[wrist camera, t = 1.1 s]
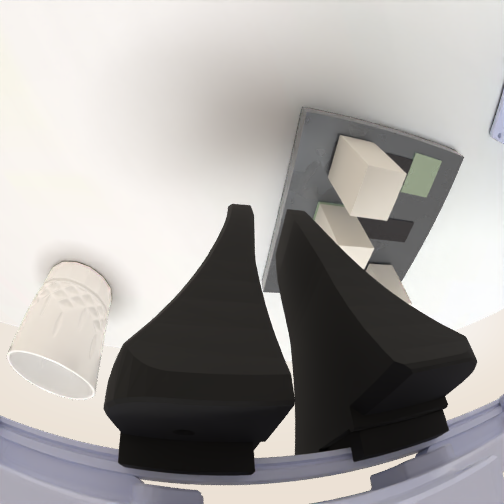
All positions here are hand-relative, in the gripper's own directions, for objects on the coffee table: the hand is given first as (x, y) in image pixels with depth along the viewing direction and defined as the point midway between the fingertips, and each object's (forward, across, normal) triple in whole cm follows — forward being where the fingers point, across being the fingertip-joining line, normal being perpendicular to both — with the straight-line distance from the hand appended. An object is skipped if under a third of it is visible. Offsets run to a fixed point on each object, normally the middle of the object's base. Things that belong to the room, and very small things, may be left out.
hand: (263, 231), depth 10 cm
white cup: (+10, +14, +15) cm, 23 cm away
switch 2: (+9, -7, +5) cm, 12 cm away
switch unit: (+10, -10, +5) cm, 15 cm away
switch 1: (+9, -7, 0) cm, 11 cm away
